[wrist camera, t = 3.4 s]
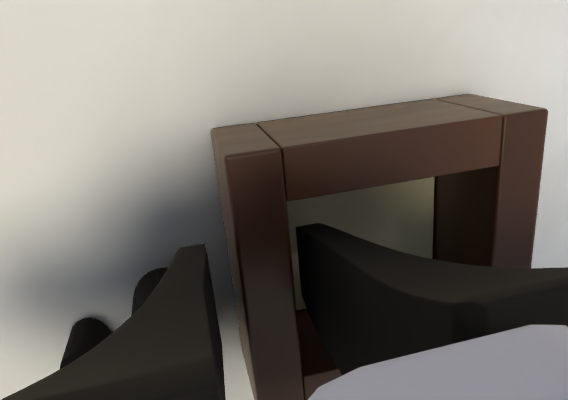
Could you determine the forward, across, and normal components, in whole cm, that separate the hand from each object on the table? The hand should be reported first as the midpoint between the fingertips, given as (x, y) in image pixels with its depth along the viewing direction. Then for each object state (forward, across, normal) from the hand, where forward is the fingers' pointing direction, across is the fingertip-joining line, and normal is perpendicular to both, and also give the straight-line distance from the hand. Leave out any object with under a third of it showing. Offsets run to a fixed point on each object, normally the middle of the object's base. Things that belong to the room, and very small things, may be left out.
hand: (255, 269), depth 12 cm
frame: (+1, -3, 0) cm, 3 cm away
